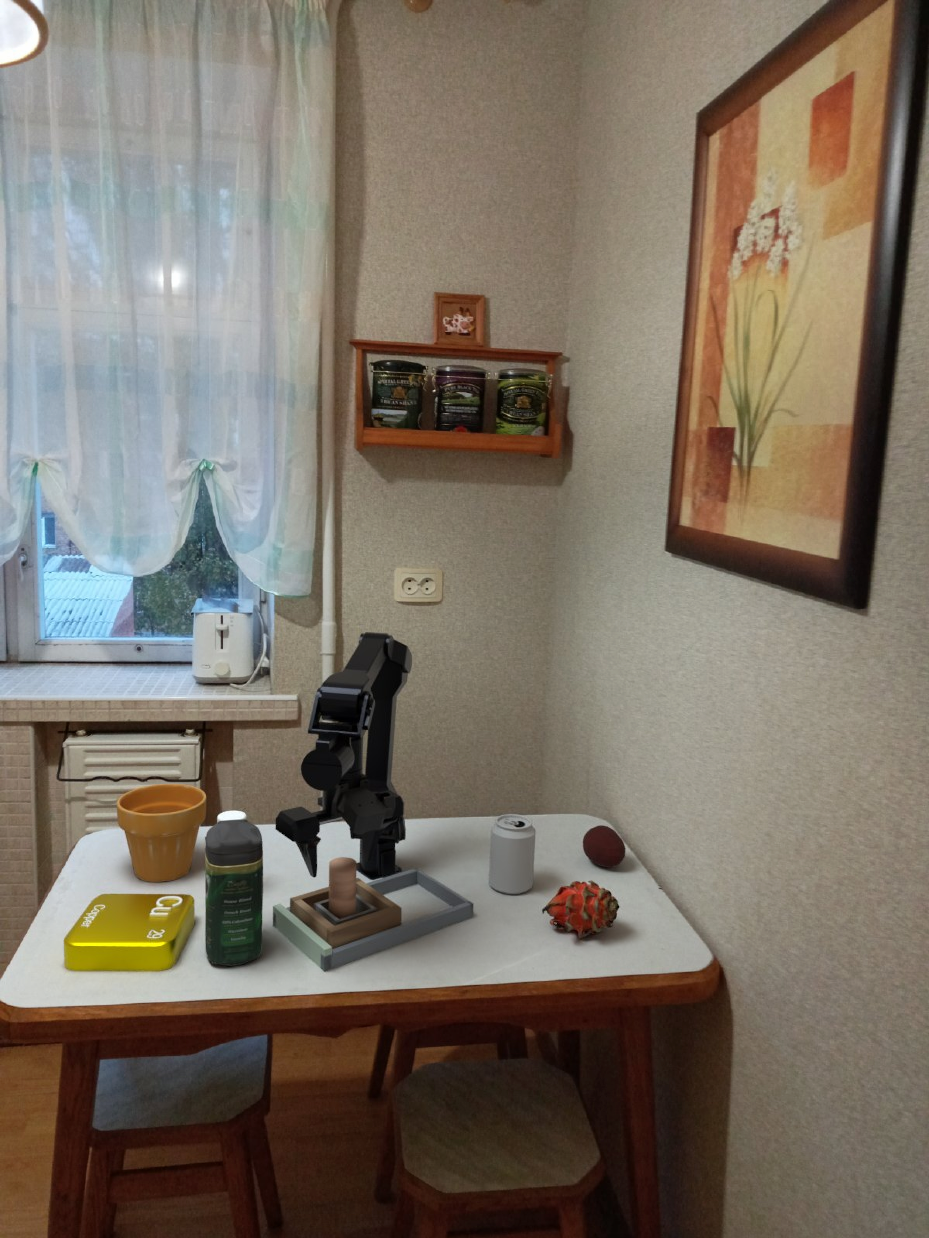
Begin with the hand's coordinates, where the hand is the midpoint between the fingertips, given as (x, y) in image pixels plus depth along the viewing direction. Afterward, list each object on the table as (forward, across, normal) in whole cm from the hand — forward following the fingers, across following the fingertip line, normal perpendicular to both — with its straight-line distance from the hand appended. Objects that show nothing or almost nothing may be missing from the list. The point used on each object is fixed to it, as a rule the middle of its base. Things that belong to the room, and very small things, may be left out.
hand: (340, 868), depth 131 cm
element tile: (+11, -25, +15) cm, 32 cm away
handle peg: (+9, 0, 0) cm, 9 cm away
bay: (+11, +6, 0) cm, 12 cm away
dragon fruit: (+11, +31, -20) cm, 38 cm away
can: (+11, +32, -3) cm, 34 cm away
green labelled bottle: (+11, -14, +5) cm, 19 cm away
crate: (+10, +1, 0) cm, 10 cm away
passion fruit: (+11, +52, -6) cm, 53 cm away
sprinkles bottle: (+11, -7, +21) cm, 25 cm away
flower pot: (+11, -13, +35) cm, 39 cm away
